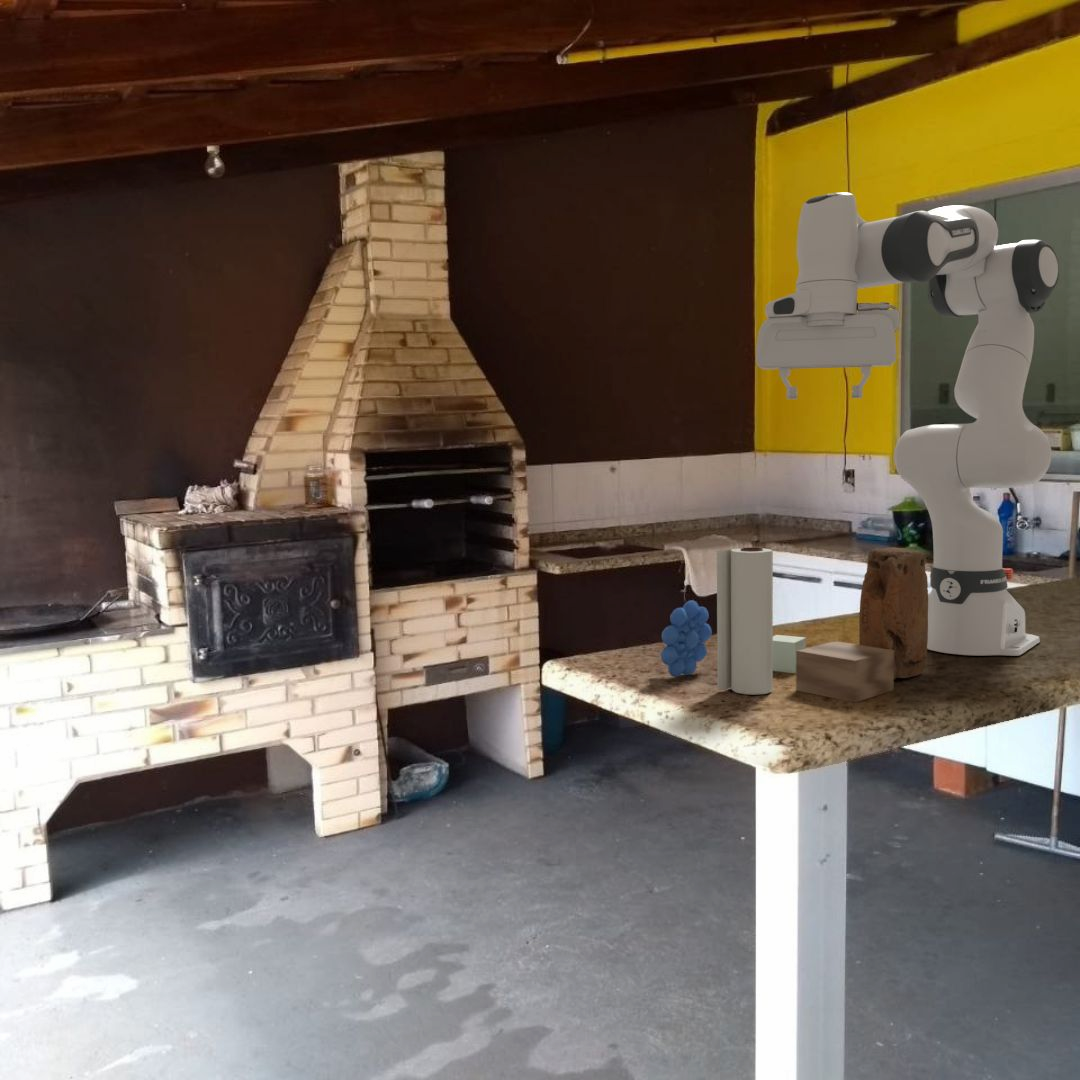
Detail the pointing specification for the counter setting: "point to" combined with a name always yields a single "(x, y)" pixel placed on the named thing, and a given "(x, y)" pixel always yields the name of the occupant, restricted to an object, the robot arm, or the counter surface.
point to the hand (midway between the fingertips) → (824, 398)
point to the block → (896, 607)
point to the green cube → (786, 652)
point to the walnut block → (845, 671)
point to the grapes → (685, 639)
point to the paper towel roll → (745, 620)
